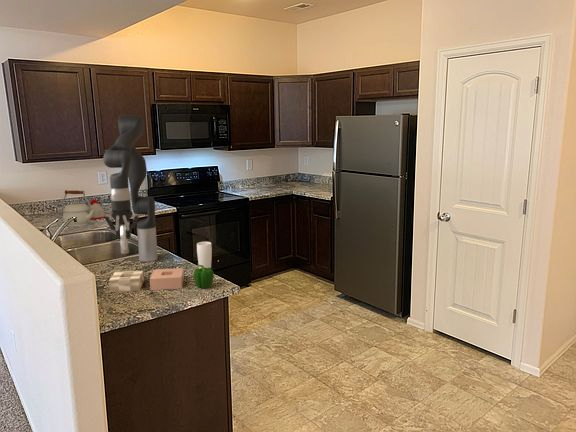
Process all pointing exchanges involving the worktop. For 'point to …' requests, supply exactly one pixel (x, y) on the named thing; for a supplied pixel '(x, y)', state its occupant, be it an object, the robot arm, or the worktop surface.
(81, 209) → the kettle
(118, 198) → the robot arm
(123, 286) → the mount block
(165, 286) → the dock block
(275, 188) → the worktop surface
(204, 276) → the bell pepper
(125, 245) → the lock pin
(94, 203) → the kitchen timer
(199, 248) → the drinking glass
